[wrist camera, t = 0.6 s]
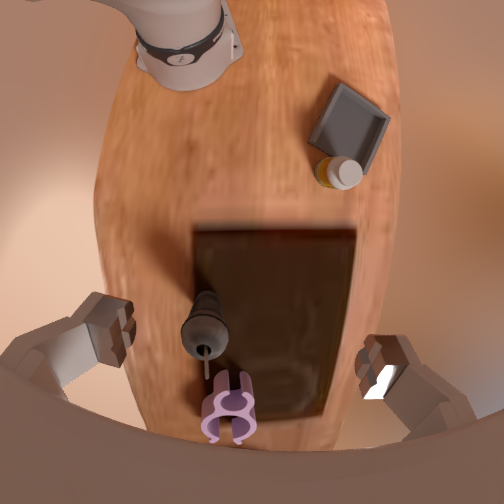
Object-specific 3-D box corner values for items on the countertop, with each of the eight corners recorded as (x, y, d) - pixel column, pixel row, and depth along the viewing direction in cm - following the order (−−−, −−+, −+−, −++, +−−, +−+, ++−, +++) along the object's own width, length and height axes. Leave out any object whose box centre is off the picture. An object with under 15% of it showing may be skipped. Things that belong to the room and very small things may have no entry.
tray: (359, 174, 46) (366, 174, 44) (307, 142, 44) (311, 140, 41) (384, 119, 44) (390, 117, 41) (335, 86, 41) (340, 82, 39)
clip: (205, 366, 54) (204, 388, 47) (262, 371, 56) (267, 392, 49) (200, 421, 59) (199, 442, 52) (248, 425, 61) (250, 444, 54)
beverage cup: (215, 276, 49) (212, 339, 29) (234, 308, 51) (242, 380, 31) (181, 293, 49) (161, 360, 30) (200, 324, 51) (193, 398, 32)
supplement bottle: (337, 155, 45) (362, 151, 36) (344, 183, 46) (370, 186, 37) (310, 161, 45) (330, 158, 36) (317, 190, 46) (339, 194, 37)
